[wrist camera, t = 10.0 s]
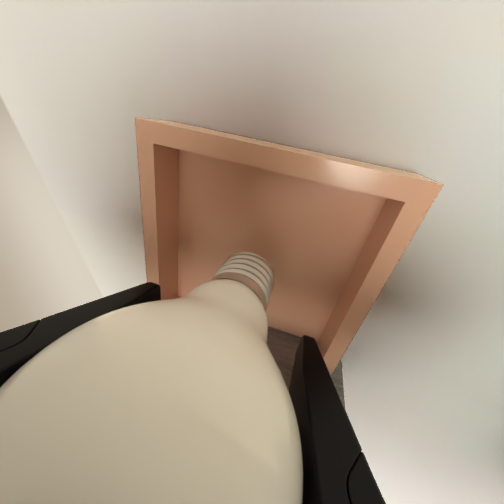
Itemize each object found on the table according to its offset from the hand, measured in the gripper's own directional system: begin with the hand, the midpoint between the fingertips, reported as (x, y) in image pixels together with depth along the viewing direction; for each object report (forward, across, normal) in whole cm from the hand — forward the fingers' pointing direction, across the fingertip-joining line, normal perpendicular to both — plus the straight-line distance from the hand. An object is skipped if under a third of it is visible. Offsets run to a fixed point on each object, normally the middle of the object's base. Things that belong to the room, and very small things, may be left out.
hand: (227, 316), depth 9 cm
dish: (+5, 0, 0) cm, 5 cm away
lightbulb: (+4, 0, 0) cm, 4 cm away
